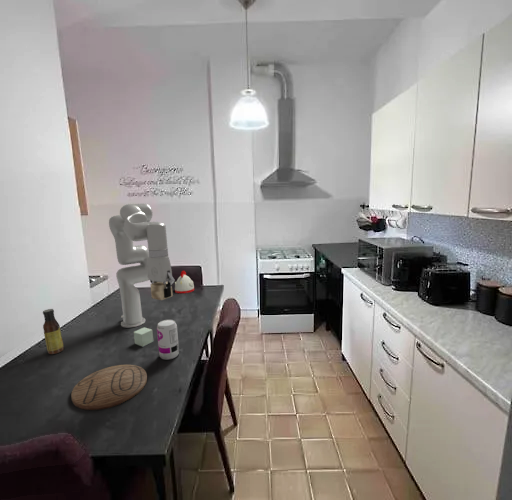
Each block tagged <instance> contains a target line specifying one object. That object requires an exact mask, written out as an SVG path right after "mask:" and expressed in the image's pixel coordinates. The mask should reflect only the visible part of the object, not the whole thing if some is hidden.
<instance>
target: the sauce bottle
mask: <svg viewBox="0 0 512 500" xmlns="http://www.w3.org/2000/svg"><path fill="white" fill-rule="evenodd" d="M42 315H43V317H44V323H43V325H42V329H43V335H44V339H45V340H44V341H45V346H46V350H47V353H48V354H49V355H57V354H59V353H61V352H63V351H64V341H63V336H62V331H61V327H60V323H59V322H58V321H57V319H56V318H55V311H54V308H48V309H44V310H42Z"/></svg>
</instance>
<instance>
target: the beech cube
mask: <svg viewBox="0 0 512 500" xmlns="http://www.w3.org/2000/svg"><path fill="white" fill-rule="evenodd" d="M166 284H168V283H167V282H166ZM164 289H165V287H164V285H163V283H161V282H156V283H153V284H152V283H150V294H151V295H150V296H151V299H154V300H157V301H158V300H159V301H163V300H167V299H169V298H171V297H174V295H173V292H174V291H173V286H172V287H171V297H168V298H165V297H164Z"/></svg>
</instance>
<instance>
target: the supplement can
mask: <svg viewBox="0 0 512 500" xmlns="http://www.w3.org/2000/svg"><path fill="white" fill-rule="evenodd" d="M156 334H157V335H156V336H157V344H158V347H157V348H158V353H159V354H158V355H159V356H158V357H160V359H162V360H165V361H166V360H168V361H169V360H172V359H175V358H177V357H178V355H179V354H180V347H179V346H180V345H179V335H178V325H177V323H176V320H173V319H164V320H161V321H158V323H157V326H156Z"/></svg>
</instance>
